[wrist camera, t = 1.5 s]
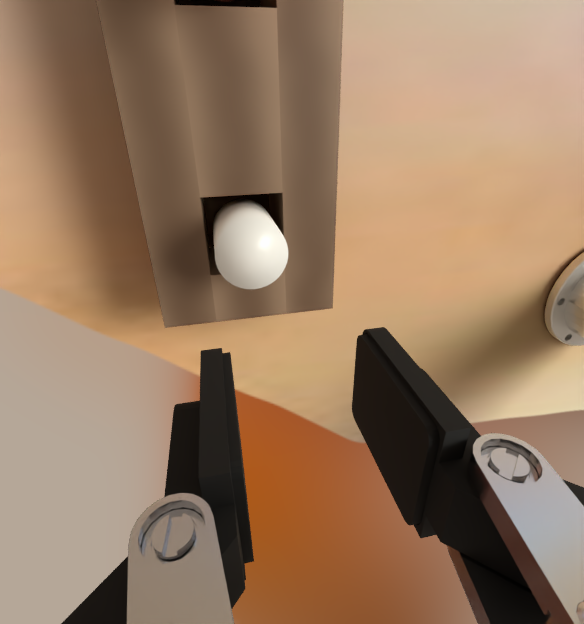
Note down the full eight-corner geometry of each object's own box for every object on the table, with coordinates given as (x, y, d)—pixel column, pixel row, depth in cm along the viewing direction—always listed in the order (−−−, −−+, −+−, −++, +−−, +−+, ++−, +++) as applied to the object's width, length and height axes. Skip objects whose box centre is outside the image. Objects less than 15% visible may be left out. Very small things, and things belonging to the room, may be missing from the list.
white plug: (271, 196, 24) (287, 216, 19) (273, 255, 26) (289, 285, 21) (209, 200, 24) (210, 221, 19) (216, 260, 25) (219, 292, 21)
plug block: (314, -158, 20) (352, -253, 15) (312, 277, 33) (332, 308, 27) (81, -183, 18) (32, -302, 13) (171, 292, 31) (165, 327, 25)
